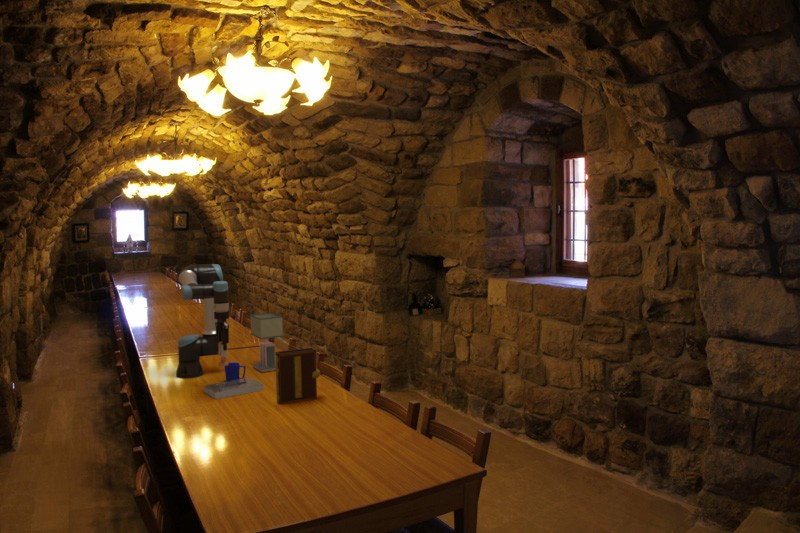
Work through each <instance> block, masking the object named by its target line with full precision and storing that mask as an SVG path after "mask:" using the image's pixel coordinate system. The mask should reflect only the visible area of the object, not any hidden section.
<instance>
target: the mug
mask: <svg viewBox="0 0 800 533" xmlns="http://www.w3.org/2000/svg"><path fill="white" fill-rule="evenodd" d="M223 367H224V374H225V382H227V381H232V380H238V379H243V378H245V376H246V369H247V368H246V366H245V365H240V362H236V361H235V362H228V366H223ZM240 368H243V373H242V374H243V376H242V377H240Z"/></svg>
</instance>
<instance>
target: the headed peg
mask: <svg viewBox="0 0 800 533" xmlns="http://www.w3.org/2000/svg"><path fill="white" fill-rule="evenodd" d="M221 343H222V341H220V342H219V345H220V350H221V355H220V361H219V362H218V367H224V366H228V363H229V361H226V360H227V359H226V357H227V356H225V357H222V347H221Z"/></svg>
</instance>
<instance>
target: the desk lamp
mask: <svg viewBox="0 0 800 533" xmlns="http://www.w3.org/2000/svg"><path fill="white" fill-rule="evenodd" d="M249 316H250V334H251V335H252V336H253V337H255V338H257V339H260V340H265V341H261V342H259V343H258V344H259V362H254V363H251V365H252V366H254V369H256V370H258V371H259V372H261V373H267V372H273V371H275V372H276V359H275V352H276V344H275V343H274V342H272V341H271V342H270V340H269V339H274V338H283V337H284V334H283V333H284V332H283V330H284V329H283V326H284V325H283V316H282V315H280V314H278V313H274V312H266V313H256V314H255V313H254V314H250V315H249Z"/></svg>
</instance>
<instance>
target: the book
mask: <svg viewBox="0 0 800 533" xmlns="http://www.w3.org/2000/svg"><path fill="white" fill-rule="evenodd" d="M316 352H317V350H316V349H315V348H313V347H305V348H297V349H289V350H281V351H280V350H279V351H275V361H276V370H275V381H276V384H275V385H276V390H275V391H276V403H277V404H278V405H288V404H294V403H295V404H296V403H301V402H307V401H312V400H313V401H314V400H317V399H318V390H317V388H318V385H317V383H318V382H317V379H318V378H319V377H321V371H320V369H318V368H317V355H316Z"/></svg>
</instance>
